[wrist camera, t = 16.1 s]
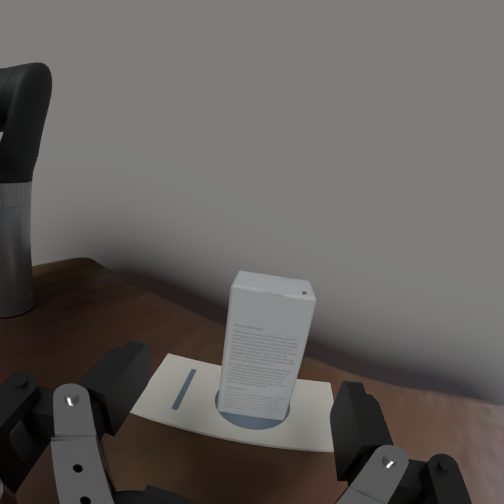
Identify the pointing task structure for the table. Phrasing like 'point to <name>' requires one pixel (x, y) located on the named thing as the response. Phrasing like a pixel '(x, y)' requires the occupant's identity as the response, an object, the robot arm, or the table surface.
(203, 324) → the table surface
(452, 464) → the robot arm
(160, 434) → the table surface
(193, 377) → the paper sheet
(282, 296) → the skincare box
